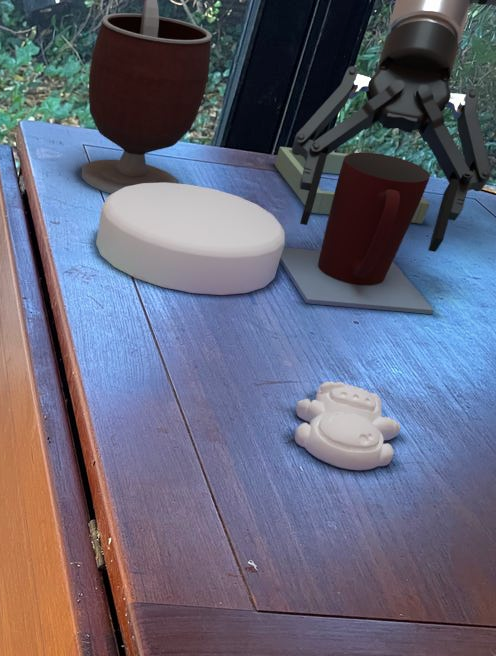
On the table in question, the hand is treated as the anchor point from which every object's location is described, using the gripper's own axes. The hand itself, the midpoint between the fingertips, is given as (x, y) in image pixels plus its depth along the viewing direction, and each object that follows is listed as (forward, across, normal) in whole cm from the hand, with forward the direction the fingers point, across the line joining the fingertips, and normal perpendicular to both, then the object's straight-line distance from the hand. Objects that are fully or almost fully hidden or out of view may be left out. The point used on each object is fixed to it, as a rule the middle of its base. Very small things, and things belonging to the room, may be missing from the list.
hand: (369, 232), depth 104 cm
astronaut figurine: (+28, -1, +19) cm, 34 cm away
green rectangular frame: (-19, +2, -28) cm, 34 cm away
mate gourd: (-10, +29, -18) cm, 36 cm away
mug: (+3, 0, -5) cm, 6 cm away
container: (+5, +18, -3) cm, 19 cm away
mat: (+3, 0, -5) cm, 6 cm away
